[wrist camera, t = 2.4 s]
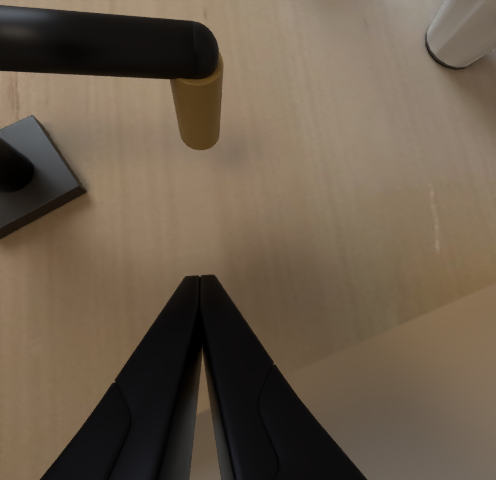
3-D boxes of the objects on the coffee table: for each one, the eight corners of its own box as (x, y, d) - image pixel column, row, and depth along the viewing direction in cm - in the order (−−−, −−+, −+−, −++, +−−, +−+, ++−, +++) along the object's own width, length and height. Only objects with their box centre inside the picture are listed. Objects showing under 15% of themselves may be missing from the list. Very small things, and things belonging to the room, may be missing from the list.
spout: (-113, 159, 14) (-398, 39, 7) (-99, 95, 14) (-347, -66, 8) (220, 161, 16) (227, 73, 10) (217, 106, 17) (222, -9, 11)
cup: (477, 16, 32) (583, -95, 23) (496, 88, 30) (620, -2, 21) (402, 6, 30) (483, -117, 21) (416, 81, 28) (512, -19, 19)
